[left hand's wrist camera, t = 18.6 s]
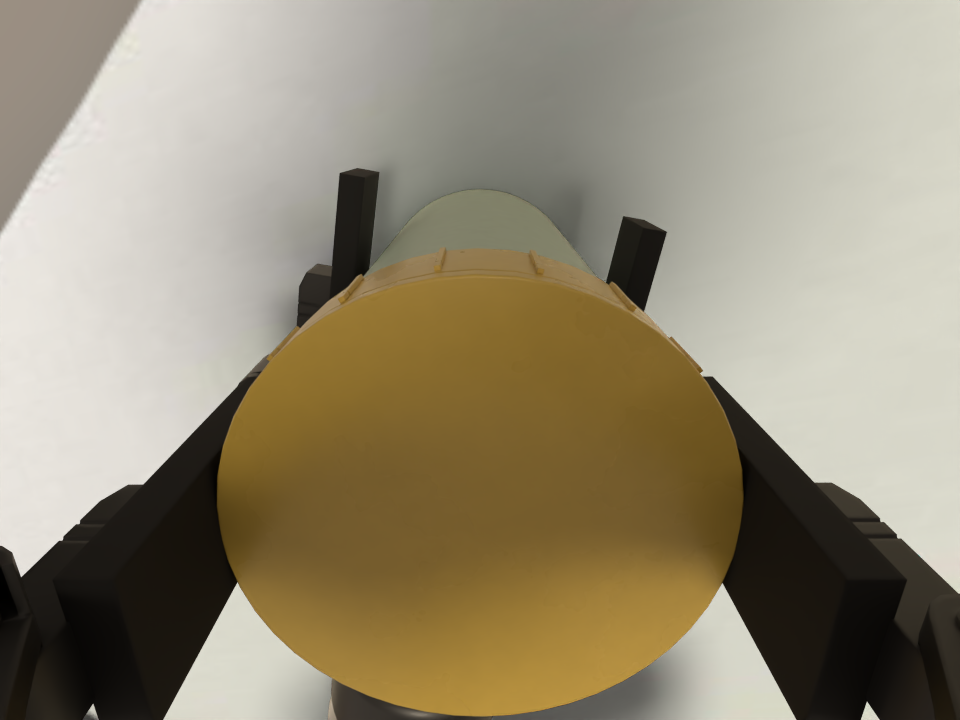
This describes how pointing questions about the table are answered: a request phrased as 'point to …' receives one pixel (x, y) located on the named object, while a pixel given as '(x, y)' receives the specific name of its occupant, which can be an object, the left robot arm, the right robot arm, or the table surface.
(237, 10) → the table surface
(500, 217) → the jar
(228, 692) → the table surface
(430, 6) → the table surface
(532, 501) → the lid
